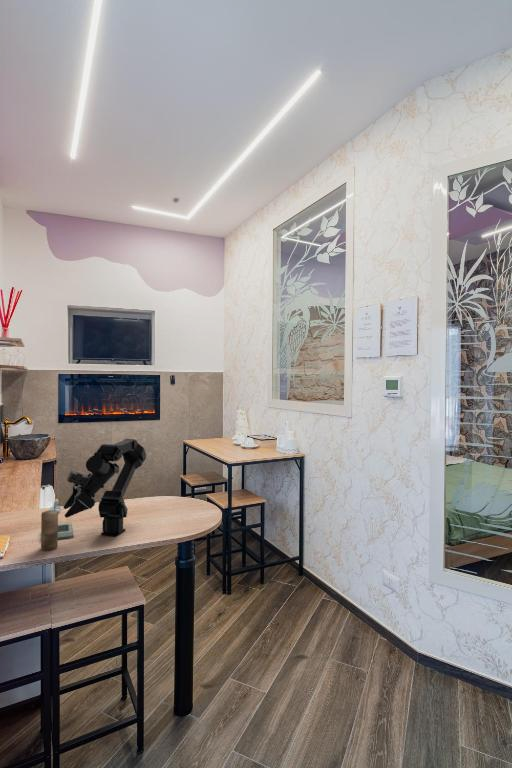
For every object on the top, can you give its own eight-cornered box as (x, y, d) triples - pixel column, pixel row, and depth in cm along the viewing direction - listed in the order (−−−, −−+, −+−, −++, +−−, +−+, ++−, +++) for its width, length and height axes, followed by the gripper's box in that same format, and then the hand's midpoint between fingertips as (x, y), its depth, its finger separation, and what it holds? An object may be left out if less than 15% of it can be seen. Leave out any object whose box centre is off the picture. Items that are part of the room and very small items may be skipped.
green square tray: (72, 527, 162) (72, 522, 162) (73, 537, 153) (73, 531, 153) (42, 531, 158) (43, 526, 158) (42, 541, 149) (42, 535, 149)
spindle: (60, 546, 146) (61, 511, 145) (50, 551, 141) (51, 515, 141) (47, 544, 147) (48, 509, 147) (37, 550, 142) (38, 514, 142)
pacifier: (42, 517, 173) (58, 516, 175) (42, 502, 173) (58, 501, 174) (46, 511, 180) (62, 510, 182) (46, 497, 180) (61, 495, 182)
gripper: (80, 457, 155) (46, 490, 151) (84, 468, 139) (46, 506, 134) (102, 476, 159) (70, 509, 155) (109, 490, 143) (73, 527, 138)
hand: (64, 512), depth 145 cm, fingers open, 9 cm apart
